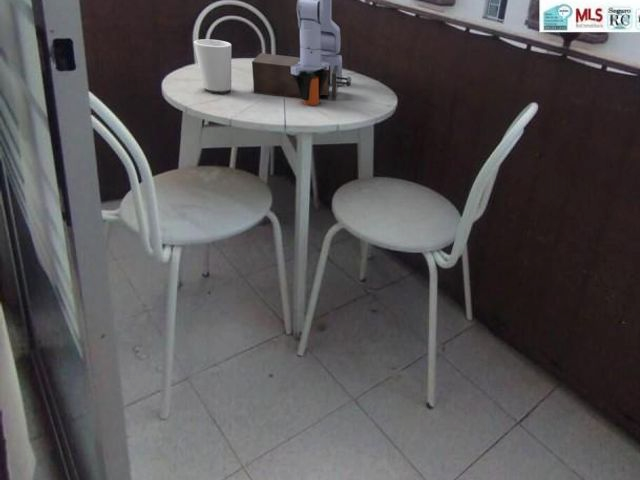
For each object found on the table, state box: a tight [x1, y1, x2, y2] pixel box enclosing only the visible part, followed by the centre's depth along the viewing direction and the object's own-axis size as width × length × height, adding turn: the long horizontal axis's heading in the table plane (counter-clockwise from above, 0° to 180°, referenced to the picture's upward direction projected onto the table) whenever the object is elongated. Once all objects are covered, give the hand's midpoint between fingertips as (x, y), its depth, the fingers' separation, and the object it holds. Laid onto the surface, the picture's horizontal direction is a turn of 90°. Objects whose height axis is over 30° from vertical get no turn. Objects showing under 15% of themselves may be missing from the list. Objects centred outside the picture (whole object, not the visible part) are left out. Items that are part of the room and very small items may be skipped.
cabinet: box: [251, 52, 301, 99], centre depth 156 cm, size 15×14×9 cm
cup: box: [193, 38, 232, 95], centre depth 146 cm, size 10×10×13 cm
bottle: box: [302, 72, 320, 106], centre depth 148 cm, size 5×5×8 cm
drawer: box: [320, 65, 352, 99], centre depth 158 cm, size 18×12×7 cm
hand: (310, 98), depth 150 cm, fingers closed on bottle, 5 cm apart
